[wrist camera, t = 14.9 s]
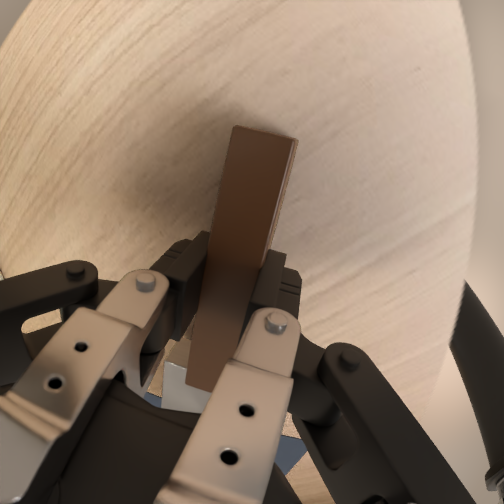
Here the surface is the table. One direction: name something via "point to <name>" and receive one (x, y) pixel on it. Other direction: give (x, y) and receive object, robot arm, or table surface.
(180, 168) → the table surface
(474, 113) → the table surface
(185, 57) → the table surface
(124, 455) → the robot arm
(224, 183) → the brown and grey bar
